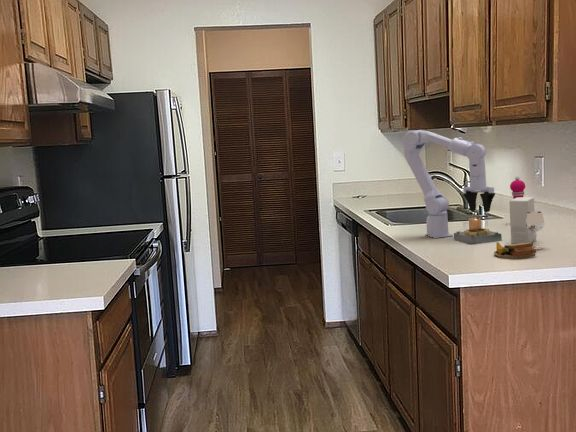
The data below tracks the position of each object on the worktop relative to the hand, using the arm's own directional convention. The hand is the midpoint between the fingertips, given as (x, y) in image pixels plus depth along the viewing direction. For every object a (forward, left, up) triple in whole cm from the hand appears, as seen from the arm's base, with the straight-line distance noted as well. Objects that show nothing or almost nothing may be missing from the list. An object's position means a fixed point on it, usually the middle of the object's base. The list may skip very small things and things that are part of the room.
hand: (479, 211), depth 230 cm
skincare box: (+21, +5, -10) cm, 24 cm away
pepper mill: (-18, +27, -10) cm, 34 cm away
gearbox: (+4, -5, -10) cm, 12 cm away
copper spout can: (+6, -5, -7) cm, 11 cm away
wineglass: (+33, +2, -10) cm, 34 cm away
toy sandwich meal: (+39, -9, -10) cm, 41 cm away
